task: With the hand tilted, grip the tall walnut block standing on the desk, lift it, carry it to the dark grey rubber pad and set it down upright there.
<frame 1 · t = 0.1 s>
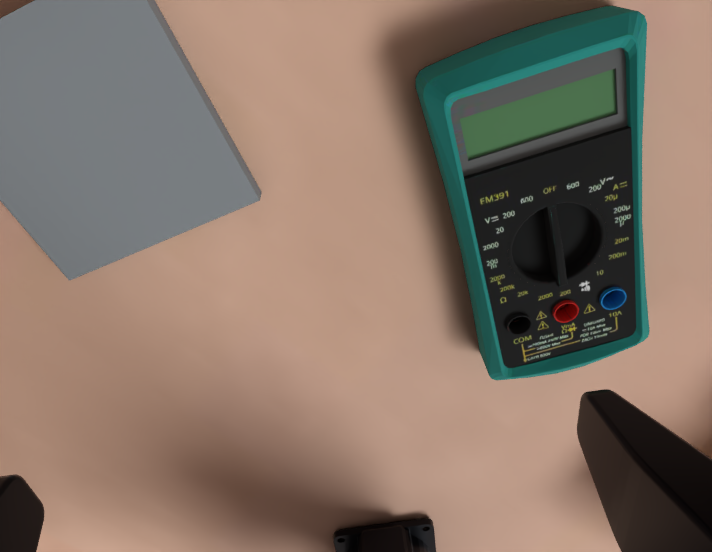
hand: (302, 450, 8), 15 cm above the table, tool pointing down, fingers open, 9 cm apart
digital multimeter: (531, 206, 23), on the table
grey pad: (98, 136, 20), on the table
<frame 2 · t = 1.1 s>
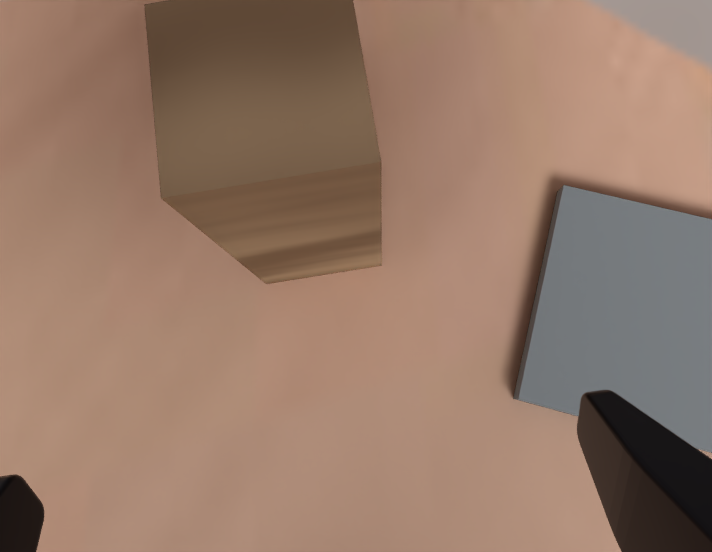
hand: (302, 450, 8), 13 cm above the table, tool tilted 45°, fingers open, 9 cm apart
walnut block: (315, 219, 23), on the table
grey pad: (646, 319, 22), on the table
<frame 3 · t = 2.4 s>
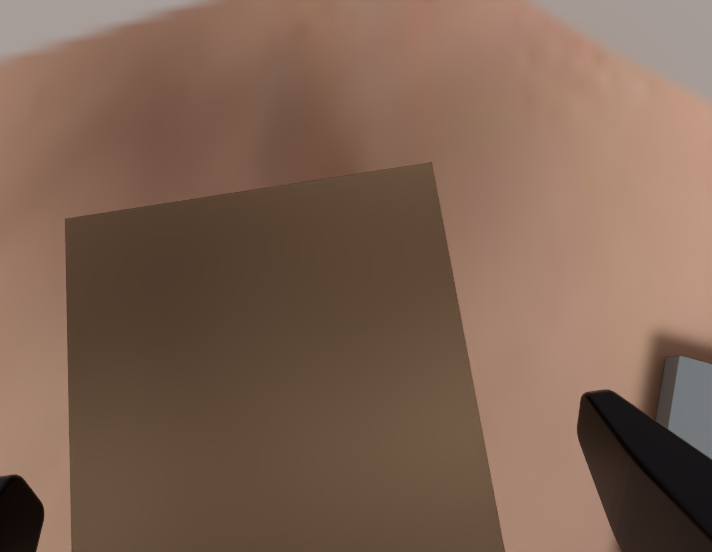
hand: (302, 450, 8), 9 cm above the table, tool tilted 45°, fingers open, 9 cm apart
walnut block: (339, 387, 17), on the table
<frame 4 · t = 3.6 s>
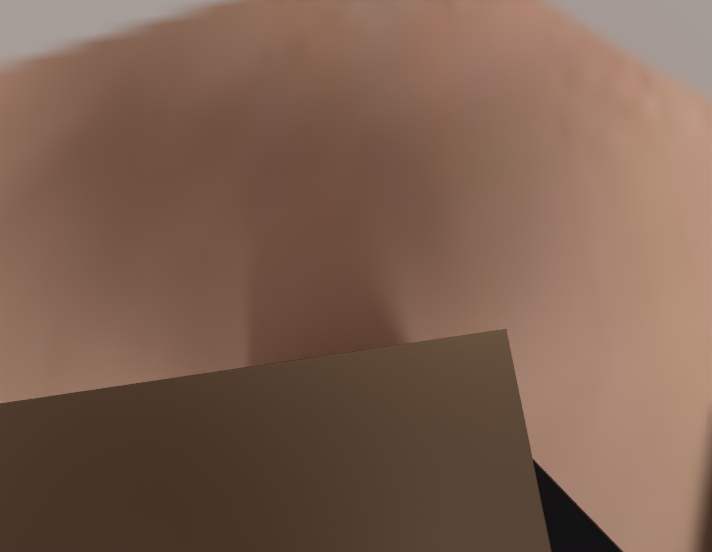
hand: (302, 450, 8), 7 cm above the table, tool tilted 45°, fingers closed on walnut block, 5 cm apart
walnut block: (344, 474, 15), on the table, touching gripper
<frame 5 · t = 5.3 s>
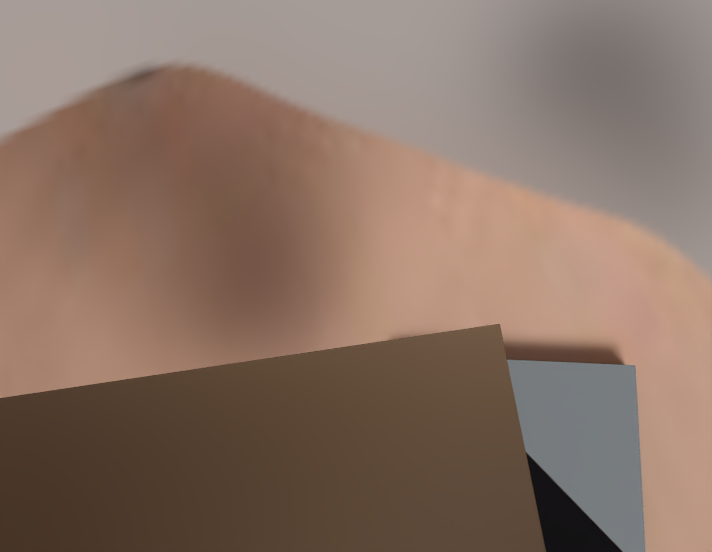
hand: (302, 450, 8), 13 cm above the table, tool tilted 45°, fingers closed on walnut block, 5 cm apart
walnut block: (342, 473, 15), point 7 cm above the table, touching gripper
grey pad: (513, 477, 21), on the table
when the fingers open (9 cm above the table, at t = 6.9 s): walnut block drops 2 cm, resting on grey pad.
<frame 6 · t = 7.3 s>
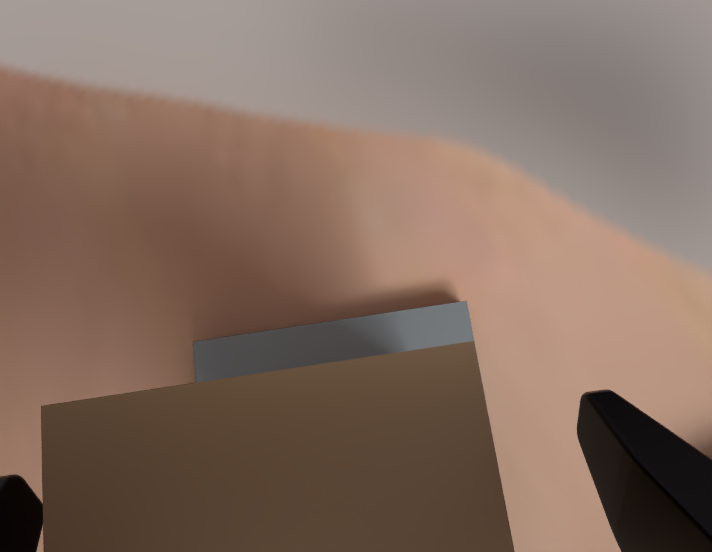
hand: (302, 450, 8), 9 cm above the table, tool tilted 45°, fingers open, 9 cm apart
walnut block: (349, 464, 16), point 1 cm above the table, touching grey pad
grey pad: (349, 462, 17), on the table
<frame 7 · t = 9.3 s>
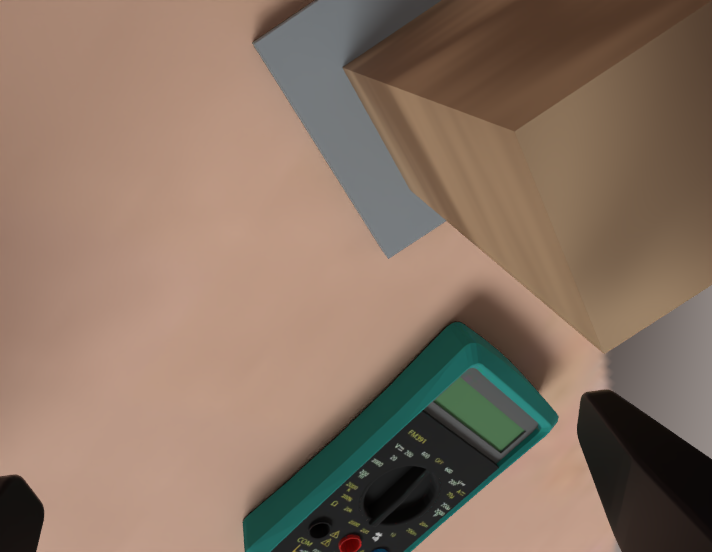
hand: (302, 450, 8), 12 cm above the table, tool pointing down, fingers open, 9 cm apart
walnut block: (438, 92, 18), point 1 cm above the table, touching grey pad
digital multimeter: (389, 447, 27), on the table
grey pad: (428, 89, 19), on the table
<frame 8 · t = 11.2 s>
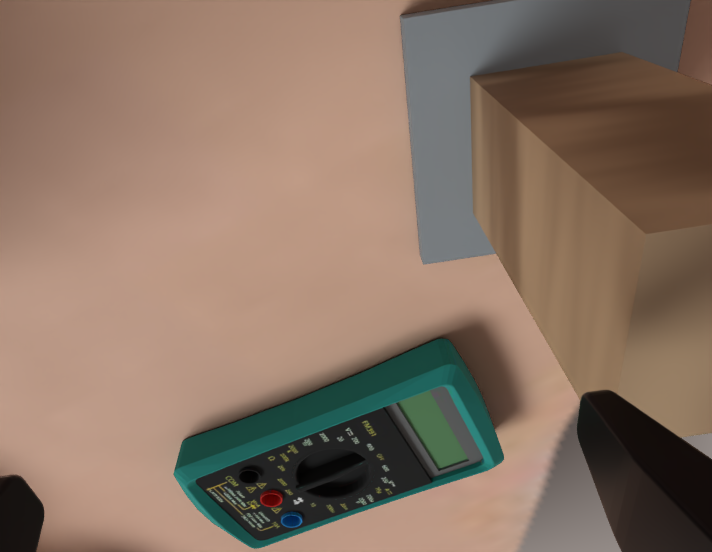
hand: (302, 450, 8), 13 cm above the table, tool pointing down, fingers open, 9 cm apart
walnut block: (541, 138, 19), point 1 cm above the table, touching grey pad
digital multimeter: (339, 426, 28), on the table
grey pad: (533, 130, 19), on the table
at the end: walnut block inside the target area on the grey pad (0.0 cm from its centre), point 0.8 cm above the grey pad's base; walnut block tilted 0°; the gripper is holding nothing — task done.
